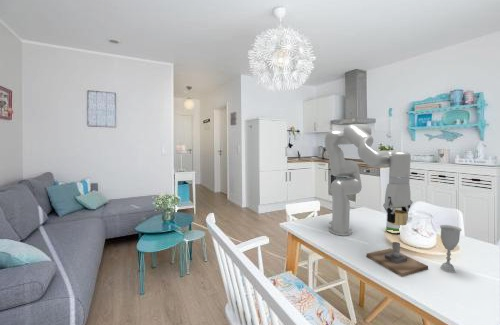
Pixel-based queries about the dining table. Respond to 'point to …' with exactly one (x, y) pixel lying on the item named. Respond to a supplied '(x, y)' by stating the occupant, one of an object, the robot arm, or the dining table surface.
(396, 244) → the shaft stand
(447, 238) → the chalice
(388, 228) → the wine bottle
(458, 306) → the dining table surface
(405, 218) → the ring
